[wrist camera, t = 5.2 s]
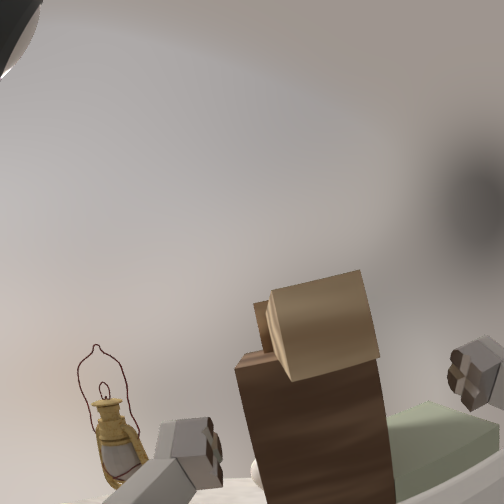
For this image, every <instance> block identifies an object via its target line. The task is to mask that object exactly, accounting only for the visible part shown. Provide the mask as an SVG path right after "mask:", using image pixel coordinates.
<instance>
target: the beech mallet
mask: <svg viewBox="0 0 504 504" xmlns="http://www.w3.org/2000/svg"><path fill="white" fill-rule="evenodd" d="M254 309H255V314H256V319H257V323H258V328H259V332H260V337H261V342H262V347H263V351H264V354H265V353H269V352H274V353H275V355H276V356H277V358H278V360H279V361H280V363H281V365H282V367H283V368H284V370H285V372H286V373H287V375H288V377H289V378H290V380H291V382H294V381H298V380H302V379H306V378H310V377H314V376H318V375H322V374H326V373H329V372H333V371H337V370H340V369H344V368H347V367H351V366H354V365H357V364H361V363H364V362H367V361H370V360H373V359H376V358H380V353H379V349H378V344H377V339H376V334H375V330H374V325H373V321H372V316H371V312H370V308H369V304H368V299H367V295H366V291H365V287H364V283H363V280H362V276H361V272H360V270H356V271H352V272H348V273H344V274H340V275H335V276H331V277H328V278H323V279H319V280H314V281H310V282H306V283H302V284H298V285H293V286H288V287H284V288H279V289H275V290H271V294H270V298H269V300H267V301H263V302H258V303H254Z"/></svg>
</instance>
